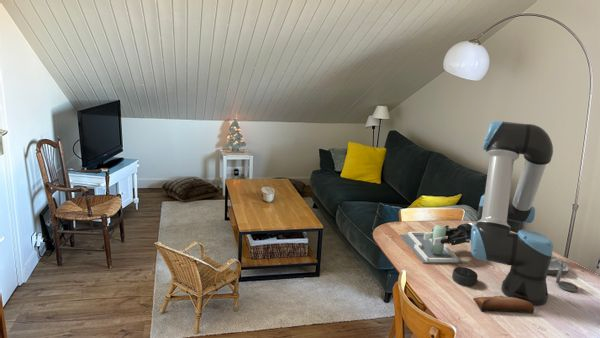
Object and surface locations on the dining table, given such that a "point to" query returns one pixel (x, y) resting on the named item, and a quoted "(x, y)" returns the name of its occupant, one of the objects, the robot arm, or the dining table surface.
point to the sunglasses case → (503, 304)
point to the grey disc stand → (564, 284)
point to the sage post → (437, 233)
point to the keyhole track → (428, 249)
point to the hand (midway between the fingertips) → (429, 239)
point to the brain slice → (556, 266)
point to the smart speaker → (464, 276)
